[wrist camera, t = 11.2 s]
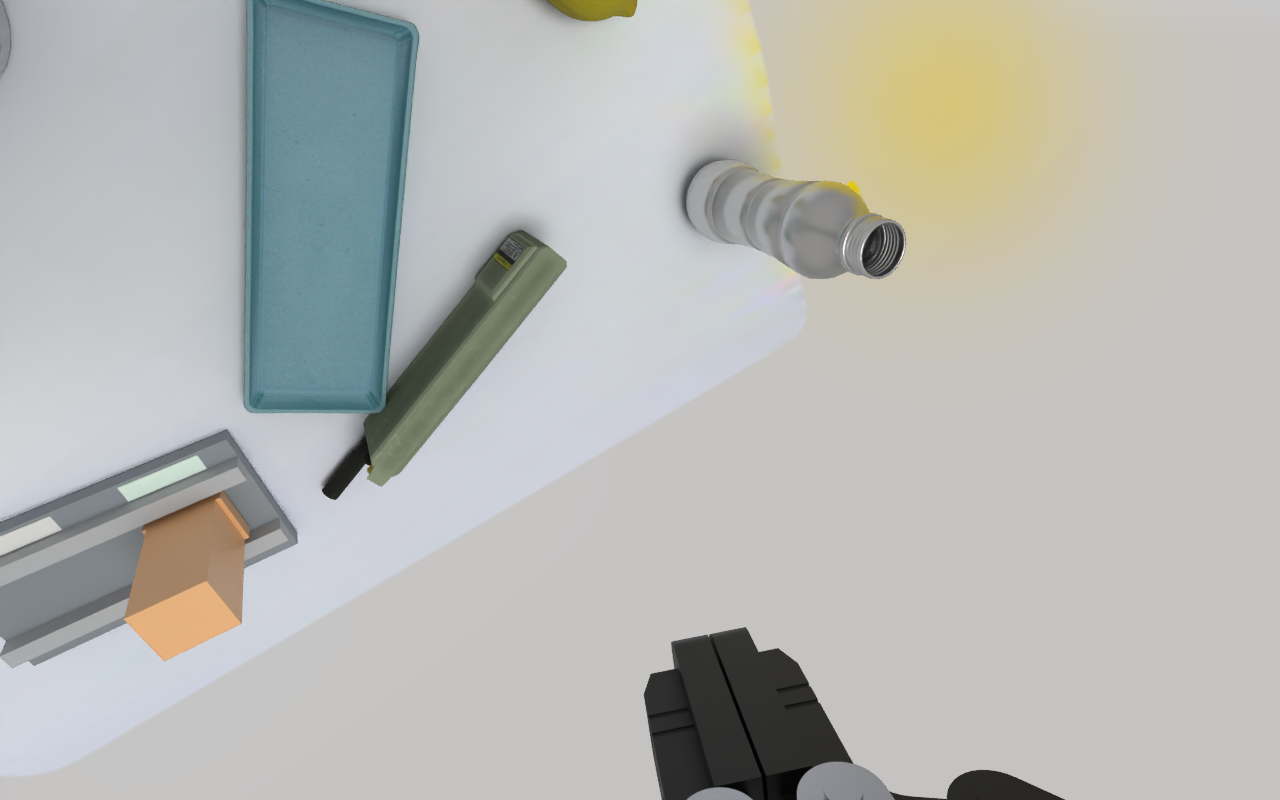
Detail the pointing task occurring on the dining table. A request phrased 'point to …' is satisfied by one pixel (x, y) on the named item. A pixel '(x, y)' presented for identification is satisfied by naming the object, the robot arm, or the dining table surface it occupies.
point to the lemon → (595, 8)
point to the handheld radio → (452, 359)
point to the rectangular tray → (323, 202)
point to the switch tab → (189, 576)
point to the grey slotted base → (115, 545)
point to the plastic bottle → (794, 221)
